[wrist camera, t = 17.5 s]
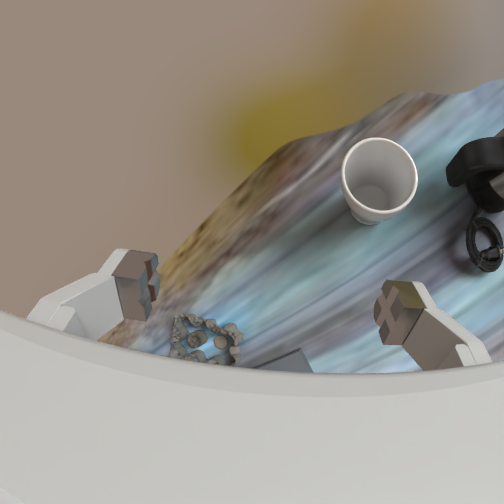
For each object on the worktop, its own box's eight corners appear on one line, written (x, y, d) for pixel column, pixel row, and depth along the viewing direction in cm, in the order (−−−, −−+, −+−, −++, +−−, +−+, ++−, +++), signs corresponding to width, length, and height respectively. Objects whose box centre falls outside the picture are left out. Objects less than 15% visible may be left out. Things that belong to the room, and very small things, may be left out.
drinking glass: (339, 224, 37) (333, 205, 23) (348, 175, 37) (346, 129, 22) (389, 236, 35) (413, 223, 21) (397, 186, 34) (422, 145, 20)
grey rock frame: (248, 325, 41) (238, 332, 37) (239, 371, 41) (229, 381, 38) (184, 307, 44) (169, 311, 41) (179, 350, 45) (164, 357, 41)
